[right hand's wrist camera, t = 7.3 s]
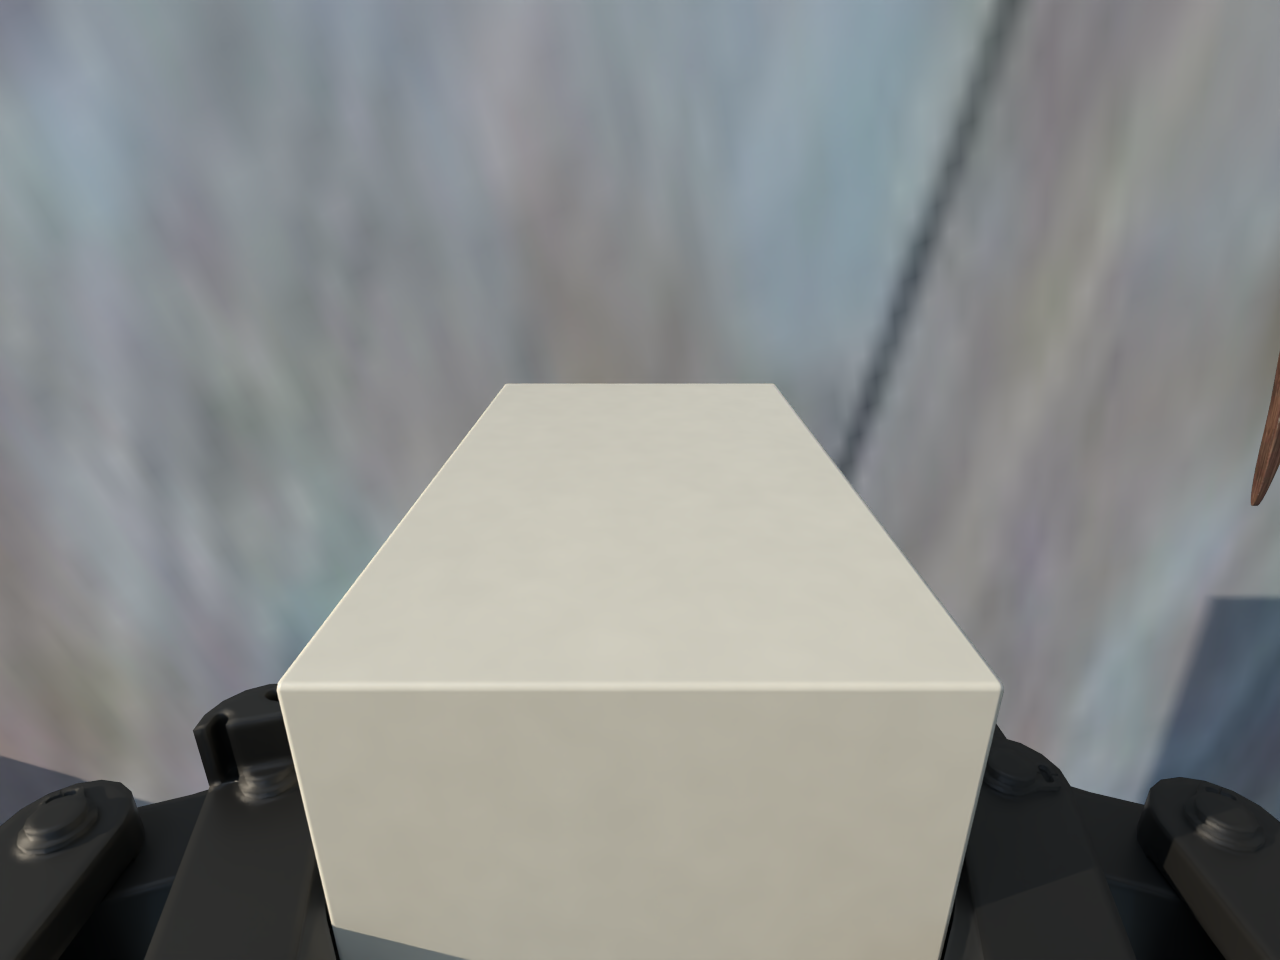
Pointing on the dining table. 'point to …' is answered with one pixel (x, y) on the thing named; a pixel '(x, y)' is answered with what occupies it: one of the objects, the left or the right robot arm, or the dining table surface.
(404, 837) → the bar
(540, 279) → the dining table surface
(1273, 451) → the fork
